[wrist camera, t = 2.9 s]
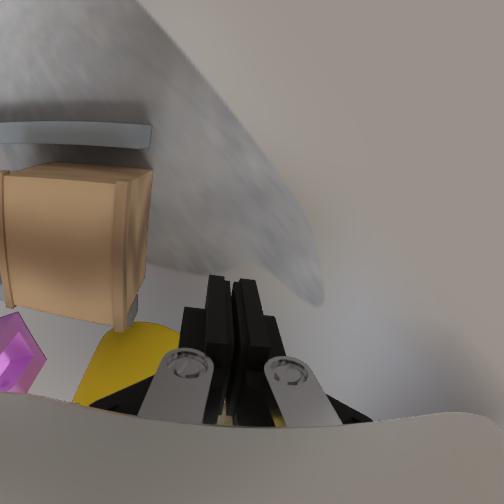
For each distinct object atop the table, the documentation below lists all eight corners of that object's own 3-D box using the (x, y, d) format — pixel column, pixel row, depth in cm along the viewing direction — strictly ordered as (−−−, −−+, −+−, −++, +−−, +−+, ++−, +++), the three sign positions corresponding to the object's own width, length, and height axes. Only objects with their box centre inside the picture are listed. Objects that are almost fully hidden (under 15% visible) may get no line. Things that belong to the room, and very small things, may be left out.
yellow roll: (132, 413, 28) (116, 488, 20) (77, 338, 25) (36, 413, 16) (222, 392, 28) (226, 476, 19) (174, 306, 24) (155, 391, 16)
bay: (137, 310, 24) (130, 327, 22) (-38, 273, 21) (-52, 284, 19) (152, 125, 20) (143, 124, 17) (-44, 126, 17) (-62, 128, 15)
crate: (147, 279, 24) (123, 332, 17) (51, 264, 22) (6, 307, 16) (156, 167, 21) (127, 181, 14) (51, 159, 20) (-6, 172, 13)
